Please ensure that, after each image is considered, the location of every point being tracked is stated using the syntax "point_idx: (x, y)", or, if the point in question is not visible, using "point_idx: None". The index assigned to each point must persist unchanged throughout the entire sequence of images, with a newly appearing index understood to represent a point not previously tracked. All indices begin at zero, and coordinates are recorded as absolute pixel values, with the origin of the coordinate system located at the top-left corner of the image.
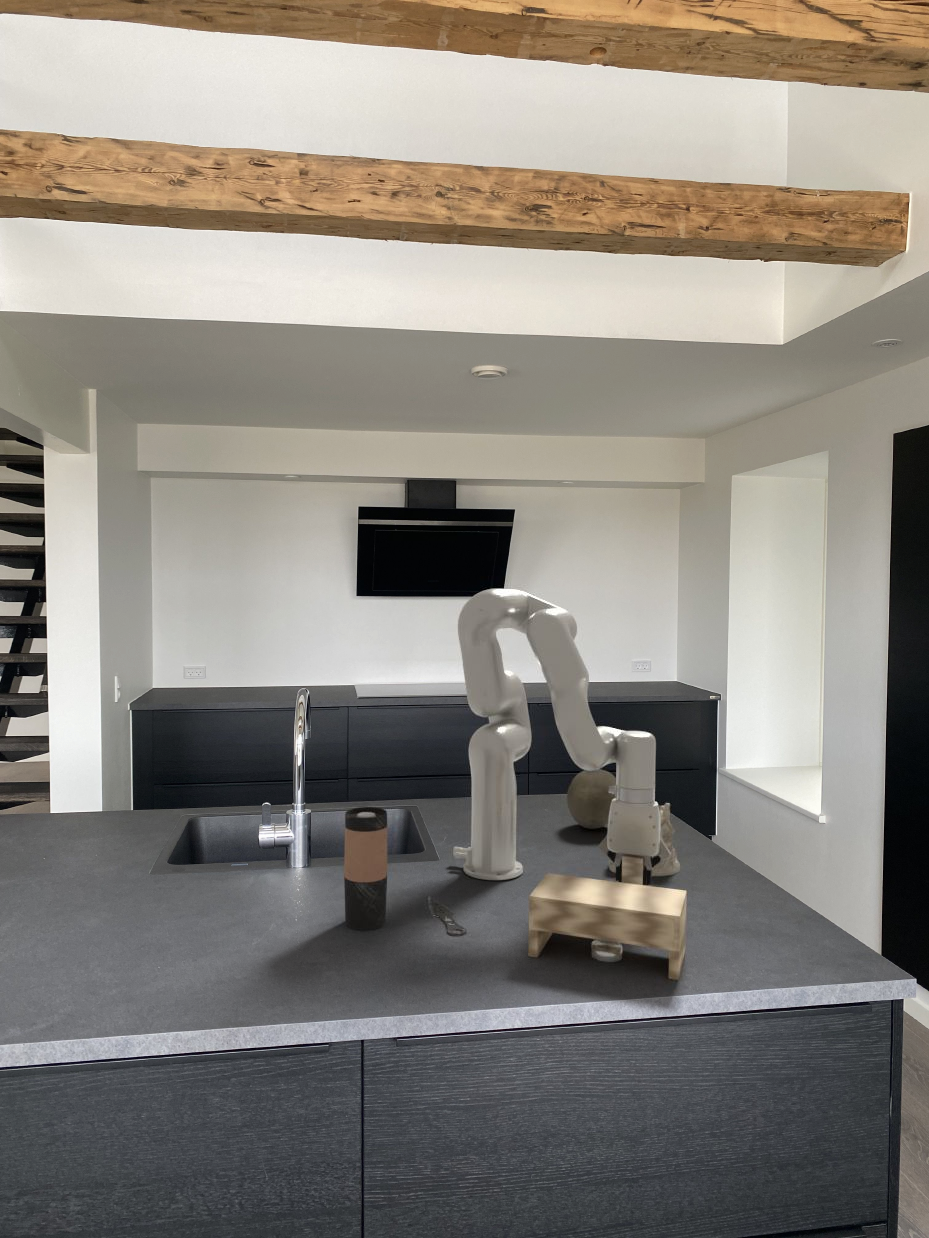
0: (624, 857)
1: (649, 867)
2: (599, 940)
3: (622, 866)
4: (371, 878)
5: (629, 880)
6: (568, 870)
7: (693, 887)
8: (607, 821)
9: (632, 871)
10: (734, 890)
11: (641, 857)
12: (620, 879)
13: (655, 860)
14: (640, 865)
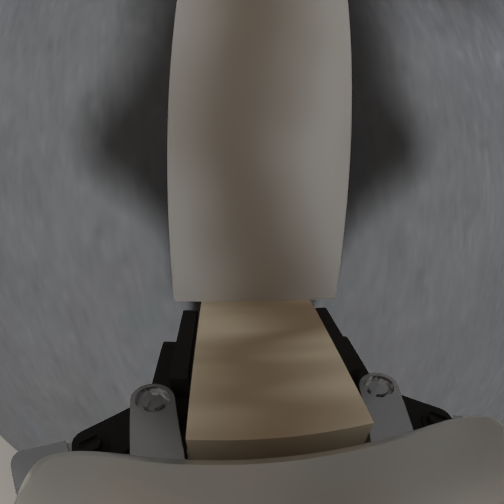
0: (353, 421)
1: (147, 397)
2: None
3: (343, 369)
4: None
5: (276, 321)
6: (439, 403)
7: (84, 419)
8: None
9: (266, 358)
10: (11, 407)
11: (206, 457)
12: (326, 326)
13: (102, 441)
14: (208, 394)
